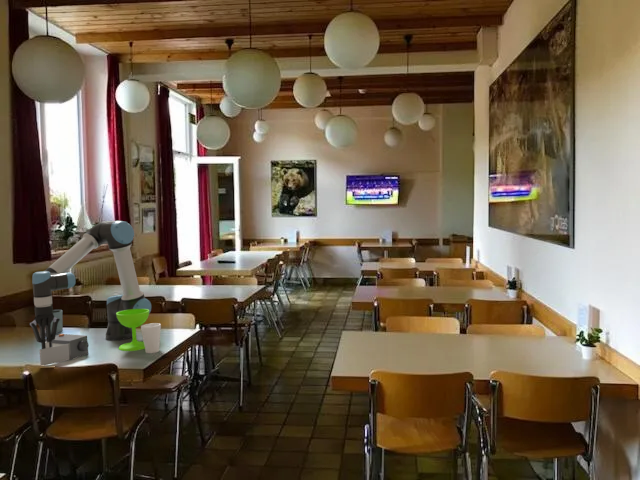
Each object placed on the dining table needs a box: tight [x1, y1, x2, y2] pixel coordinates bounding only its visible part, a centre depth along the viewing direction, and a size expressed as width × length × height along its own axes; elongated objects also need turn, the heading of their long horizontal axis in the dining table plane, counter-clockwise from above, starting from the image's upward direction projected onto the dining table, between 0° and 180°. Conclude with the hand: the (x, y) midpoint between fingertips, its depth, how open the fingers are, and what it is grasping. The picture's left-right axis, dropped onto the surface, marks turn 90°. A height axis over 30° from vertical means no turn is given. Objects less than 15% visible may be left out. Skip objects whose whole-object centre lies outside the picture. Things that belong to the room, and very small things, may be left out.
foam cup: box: [140, 322, 162, 354], centre depth 284 cm, size 10×9×13 cm
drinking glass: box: [50, 309, 64, 334], centre depth 340 cm, size 10×10×12 cm
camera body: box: [46, 333, 89, 361], centre depth 283 cm, size 18×11×10 cm, turn 67°
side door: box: [38, 343, 71, 366], centre depth 269 cm, size 14×1×8 cm, turn 137°
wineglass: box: [116, 309, 150, 352], centre depth 295 cm, size 16×16×18 cm
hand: (47, 356), depth 268 cm, fingers closed
